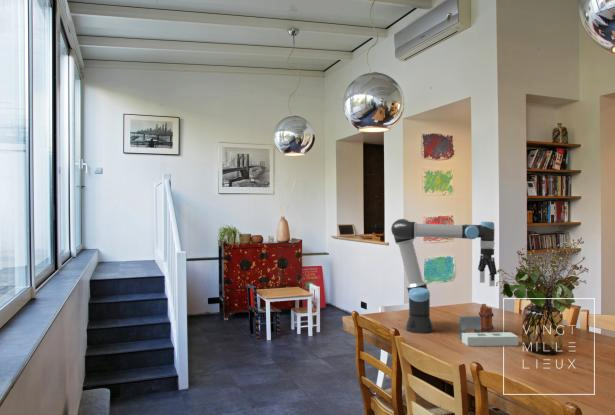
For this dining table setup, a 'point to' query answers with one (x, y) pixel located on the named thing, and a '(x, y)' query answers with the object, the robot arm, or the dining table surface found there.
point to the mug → (486, 319)
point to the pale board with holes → (490, 339)
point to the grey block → (469, 324)
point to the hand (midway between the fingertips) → (486, 284)
